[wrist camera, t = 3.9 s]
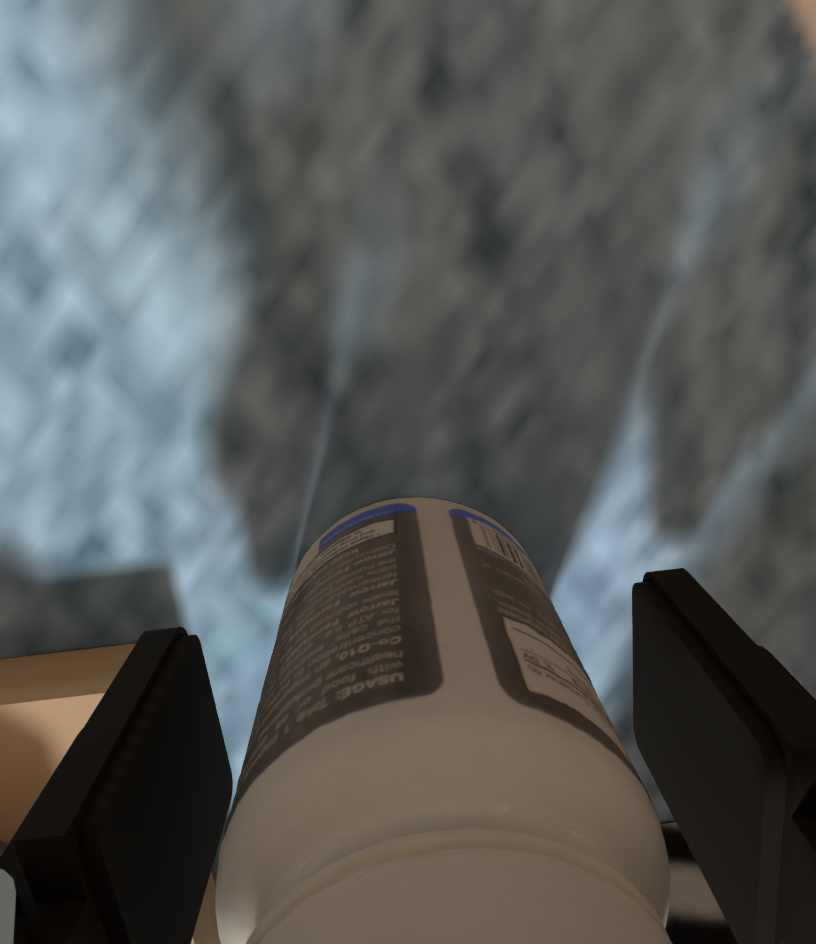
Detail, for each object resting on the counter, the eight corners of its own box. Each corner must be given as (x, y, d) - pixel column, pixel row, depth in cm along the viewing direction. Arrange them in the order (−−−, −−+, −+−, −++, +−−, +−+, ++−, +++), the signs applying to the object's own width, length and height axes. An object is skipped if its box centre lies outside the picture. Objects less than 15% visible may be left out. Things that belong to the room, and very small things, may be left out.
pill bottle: (289, 713, 13) (151, 1402, 5) (286, 486, 12) (91, 970, 4) (529, 717, 14) (737, 1382, 6) (555, 495, 12) (887, 966, 4)
